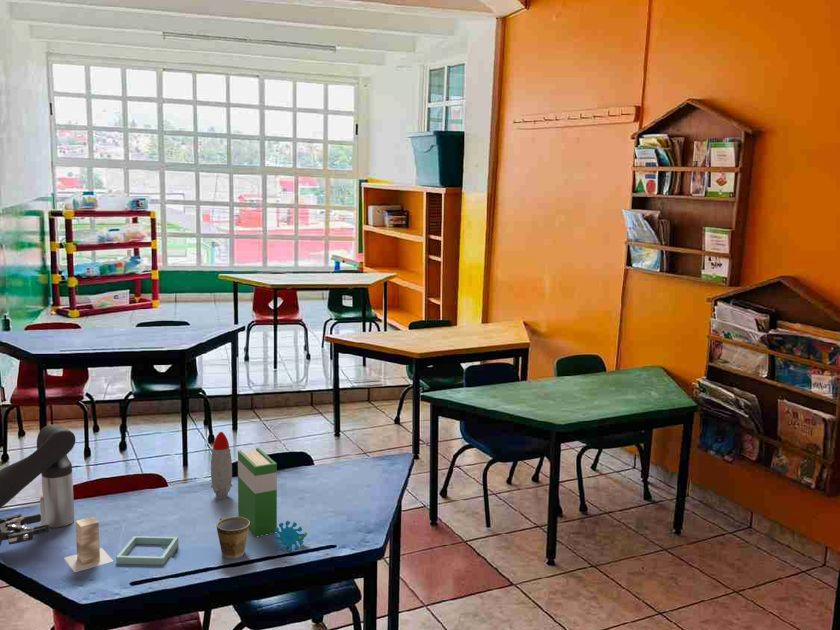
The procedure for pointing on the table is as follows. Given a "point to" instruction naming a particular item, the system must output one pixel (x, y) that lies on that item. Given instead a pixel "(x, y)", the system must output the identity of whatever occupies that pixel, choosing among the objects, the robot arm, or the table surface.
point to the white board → (78, 566)
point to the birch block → (87, 540)
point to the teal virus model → (289, 536)
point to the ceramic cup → (233, 536)
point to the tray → (165, 543)
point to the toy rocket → (221, 466)
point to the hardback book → (257, 491)
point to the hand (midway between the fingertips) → (44, 522)
